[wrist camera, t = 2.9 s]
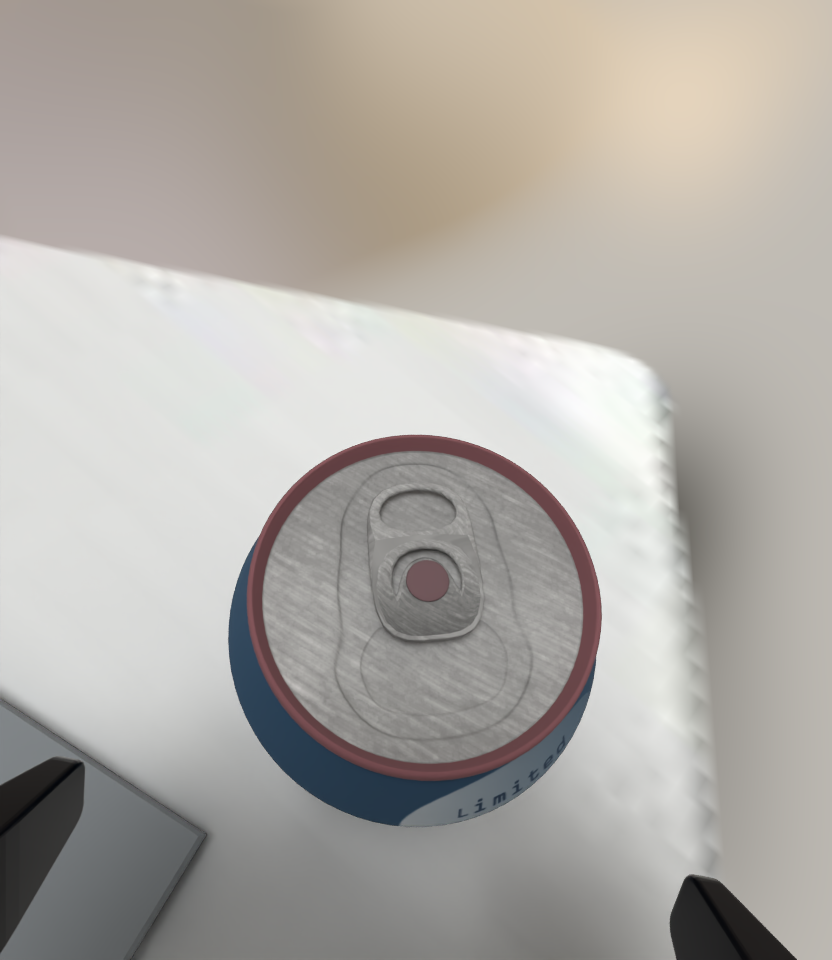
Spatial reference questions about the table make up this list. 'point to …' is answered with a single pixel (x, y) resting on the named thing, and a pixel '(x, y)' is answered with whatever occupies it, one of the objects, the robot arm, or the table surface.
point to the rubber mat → (96, 858)
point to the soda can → (416, 631)
